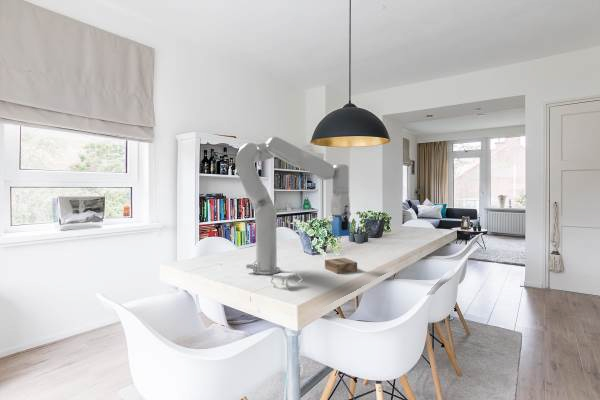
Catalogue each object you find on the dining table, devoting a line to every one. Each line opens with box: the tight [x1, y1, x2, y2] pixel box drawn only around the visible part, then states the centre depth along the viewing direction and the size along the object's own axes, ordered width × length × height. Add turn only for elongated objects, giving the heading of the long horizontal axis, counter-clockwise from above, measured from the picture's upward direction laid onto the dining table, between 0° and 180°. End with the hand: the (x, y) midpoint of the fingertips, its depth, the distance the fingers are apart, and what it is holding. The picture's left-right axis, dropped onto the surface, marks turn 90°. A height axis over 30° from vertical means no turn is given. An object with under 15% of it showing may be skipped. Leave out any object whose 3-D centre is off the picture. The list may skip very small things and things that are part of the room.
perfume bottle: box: [331, 215, 351, 238], centre depth 157 cm, size 6×6×12 cm
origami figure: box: [270, 272, 304, 290], centre depth 132 cm, size 12×8×5 cm
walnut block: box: [324, 257, 358, 274], centre depth 157 cm, size 11×11×4 cm
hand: (340, 228), depth 157 cm, fingers closed on perfume bottle, 6 cm apart
